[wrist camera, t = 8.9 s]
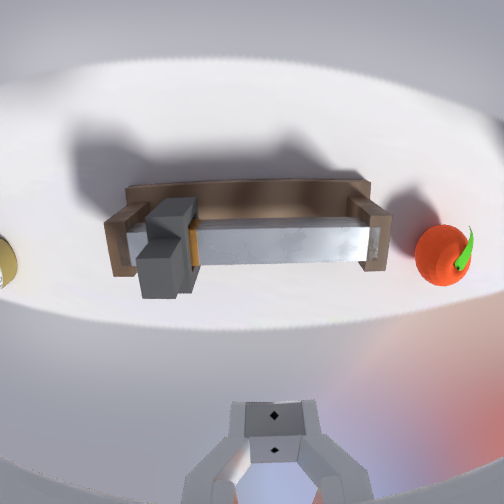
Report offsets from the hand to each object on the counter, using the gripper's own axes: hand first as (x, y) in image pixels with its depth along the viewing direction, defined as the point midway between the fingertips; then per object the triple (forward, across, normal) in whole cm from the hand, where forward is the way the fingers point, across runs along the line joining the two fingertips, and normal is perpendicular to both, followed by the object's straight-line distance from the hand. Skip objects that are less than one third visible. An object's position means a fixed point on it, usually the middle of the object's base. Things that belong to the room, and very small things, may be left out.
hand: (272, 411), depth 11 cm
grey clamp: (+21, +7, 0) cm, 22 cm away
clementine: (+26, -21, +3) cm, 33 cm away
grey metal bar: (+20, +1, 0) cm, 20 cm away
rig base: (+25, +1, 0) cm, 25 cm away
